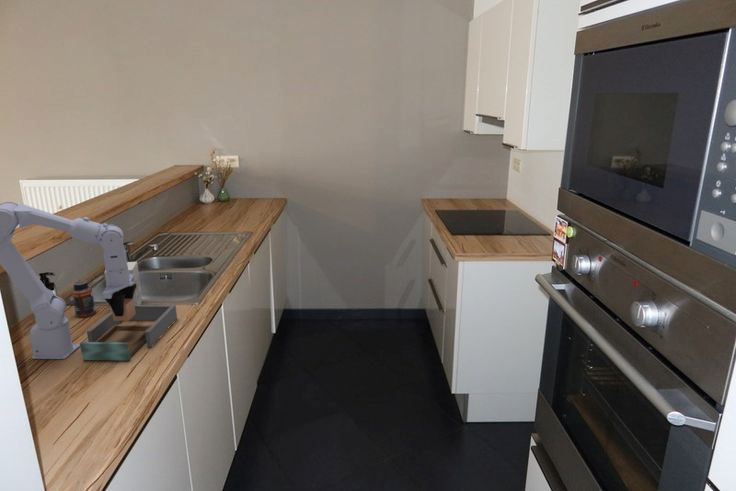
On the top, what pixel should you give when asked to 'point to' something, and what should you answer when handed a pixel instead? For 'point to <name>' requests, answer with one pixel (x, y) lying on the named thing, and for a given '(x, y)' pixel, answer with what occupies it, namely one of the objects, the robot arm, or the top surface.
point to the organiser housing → (157, 313)
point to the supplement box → (133, 270)
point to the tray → (116, 343)
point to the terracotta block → (126, 311)
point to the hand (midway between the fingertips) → (123, 312)
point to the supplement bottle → (83, 299)
